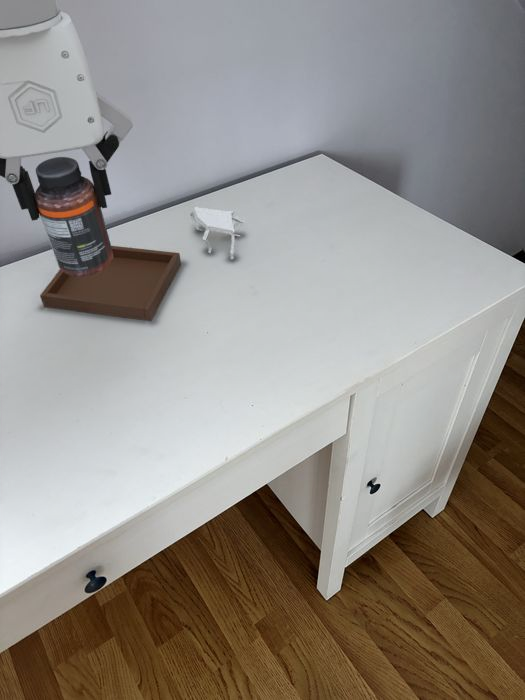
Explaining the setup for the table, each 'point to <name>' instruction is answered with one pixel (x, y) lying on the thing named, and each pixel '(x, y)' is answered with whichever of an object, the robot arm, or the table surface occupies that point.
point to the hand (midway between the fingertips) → (69, 205)
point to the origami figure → (216, 223)
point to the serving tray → (117, 285)
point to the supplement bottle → (72, 218)
